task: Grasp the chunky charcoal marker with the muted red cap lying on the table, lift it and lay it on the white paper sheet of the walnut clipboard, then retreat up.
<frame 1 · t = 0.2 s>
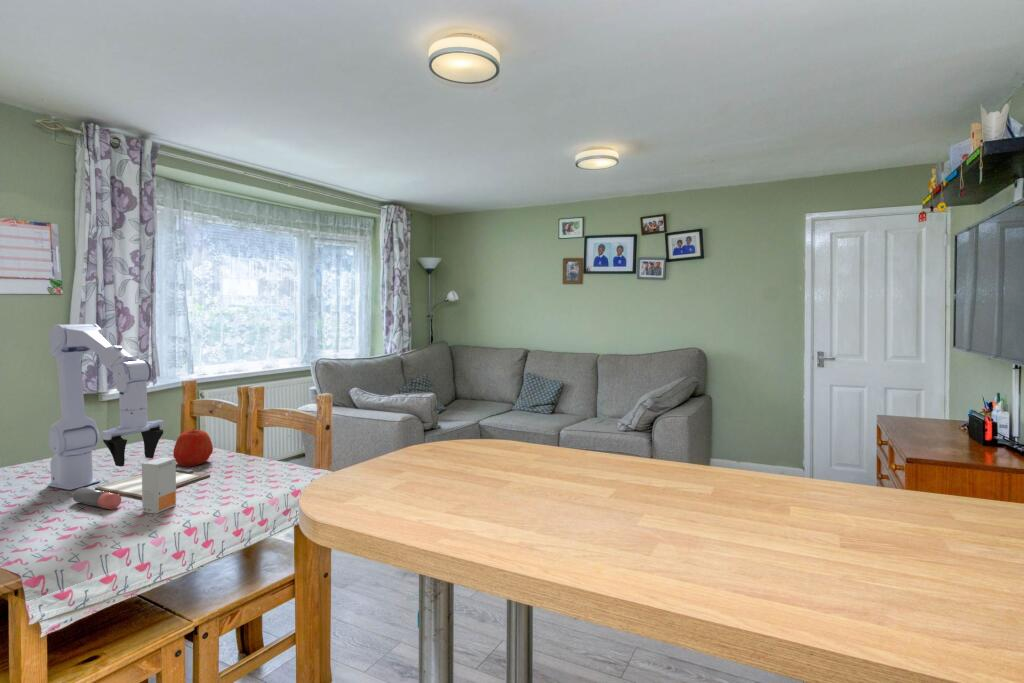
hand: (134, 461, 138), 10 cm above the table, fingers open, 7 cm apart
apple: (193, 463, 172), on the table
marker: (98, 505, 135), on the table, tilted 6°
skincare box: (160, 509, 134), on the table
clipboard: (154, 483, 152), on the table
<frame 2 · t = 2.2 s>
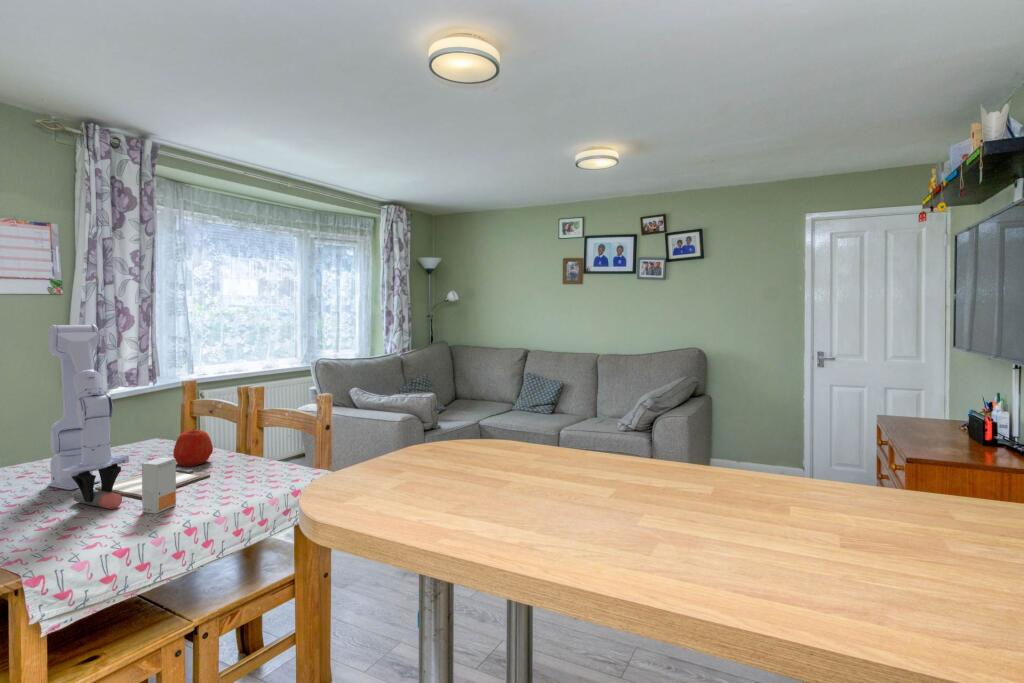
hand: (97, 498, 135), 2 cm above the table, fingers closed on marker, 4 cm apart
marker: (100, 503, 136), on the table, tilted 21°, touching gripper
everything else where it was.
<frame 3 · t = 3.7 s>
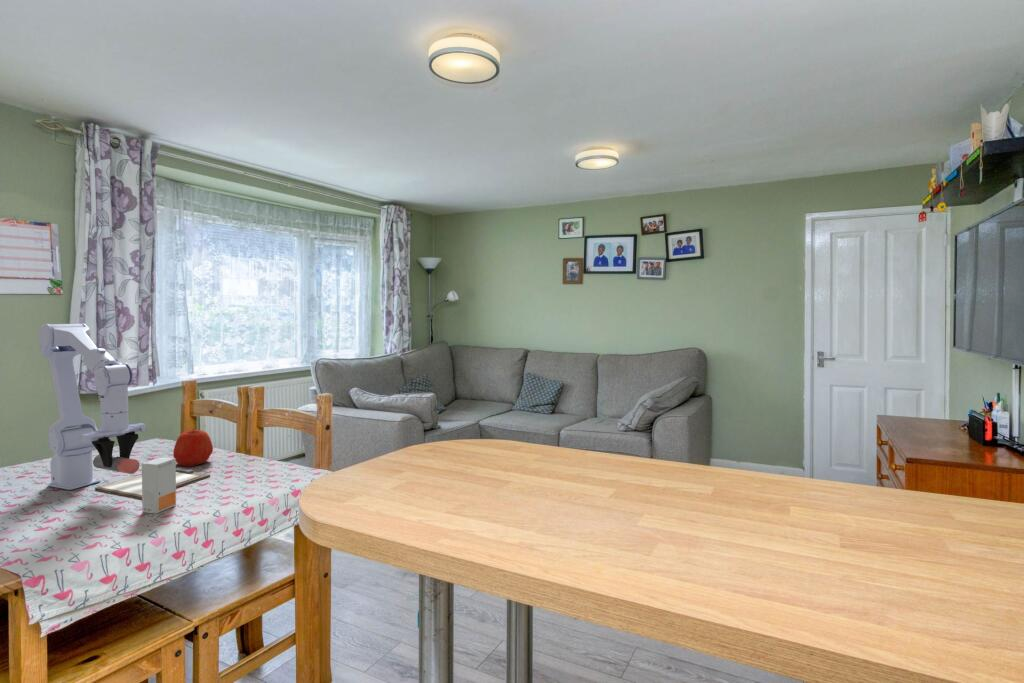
hand: (116, 464, 140), 9 cm above the table, fingers closed on marker, 4 cm apart
marker: (118, 469, 141), point 7 cm above the table, tilted 21°, touching gripper
everything else where it was.
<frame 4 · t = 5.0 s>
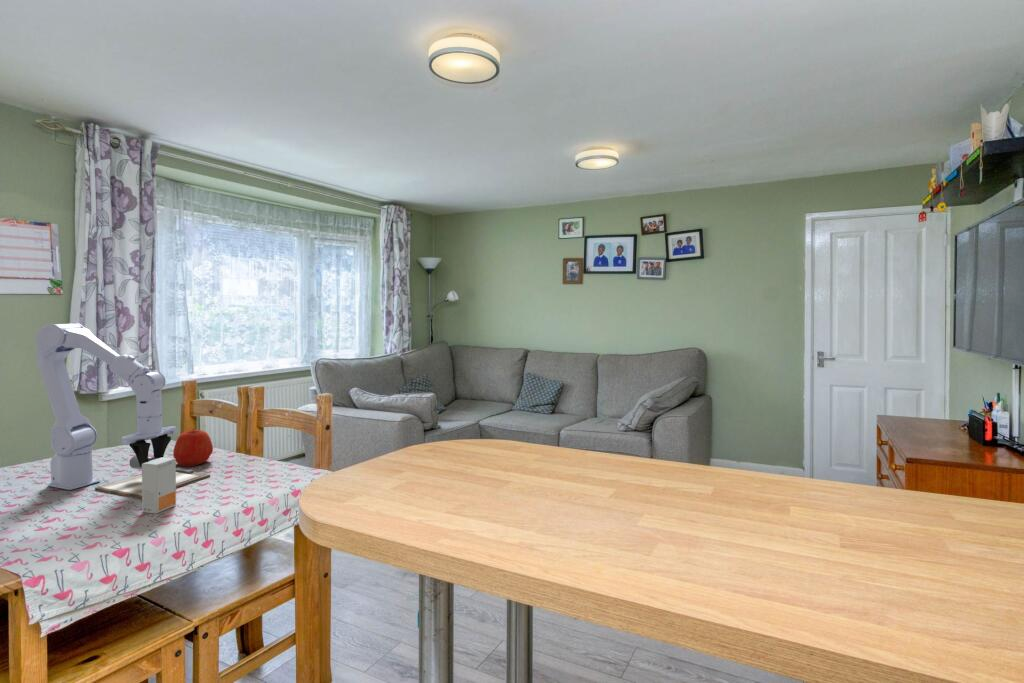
hand: (151, 464, 151), 5 cm above the table, fingers closed on marker, 4 cm apart
marker: (153, 469, 152), point 4 cm above the table, tilted 21°, touching gripper
everything else where it was.
when the fingers open (3 cm above the table, at t = 5.7 s): marker stays where it is, resting on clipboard.
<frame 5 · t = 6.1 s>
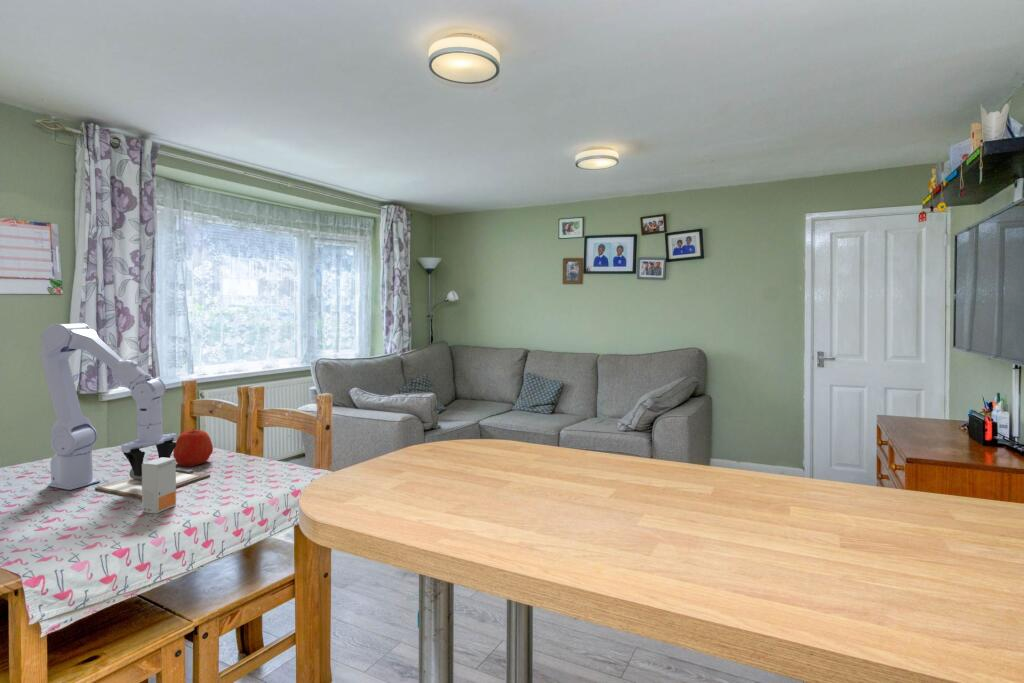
hand: (151, 471, 151), 3 cm above the table, fingers open, 7 cm apart
marker: (153, 480, 152), point 1 cm above the table, tilted 23°, touching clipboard
everything else where it was.
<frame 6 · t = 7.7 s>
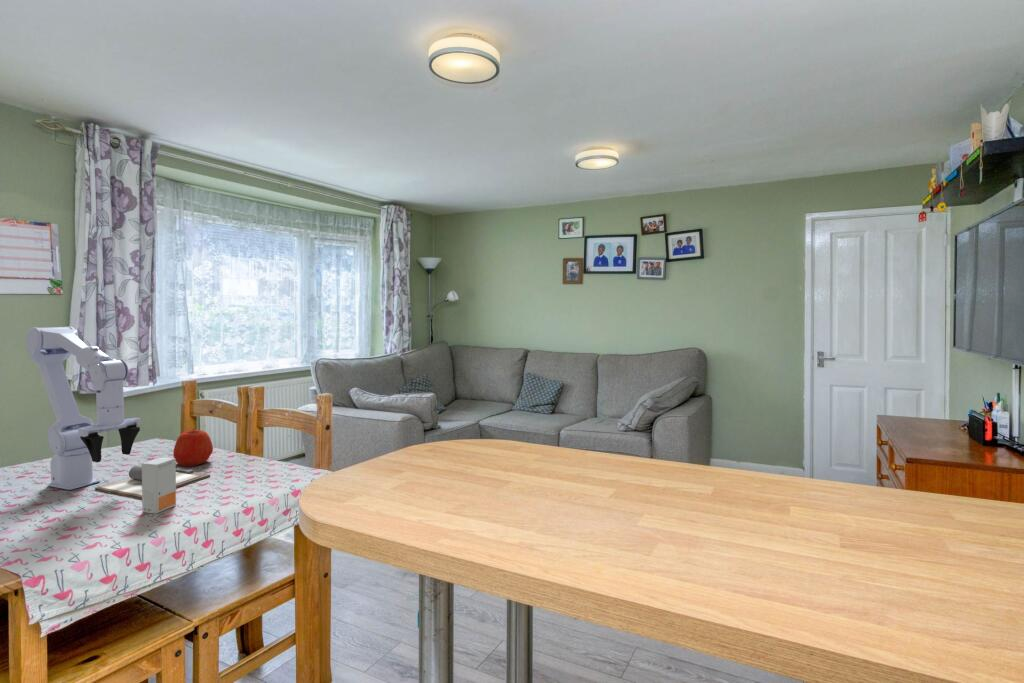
hand: (111, 457, 143), 9 cm above the table, fingers open, 7 cm apart
marker: (153, 479, 152), point 1 cm above the table, tilted 29°, touching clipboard
everything else where it was.
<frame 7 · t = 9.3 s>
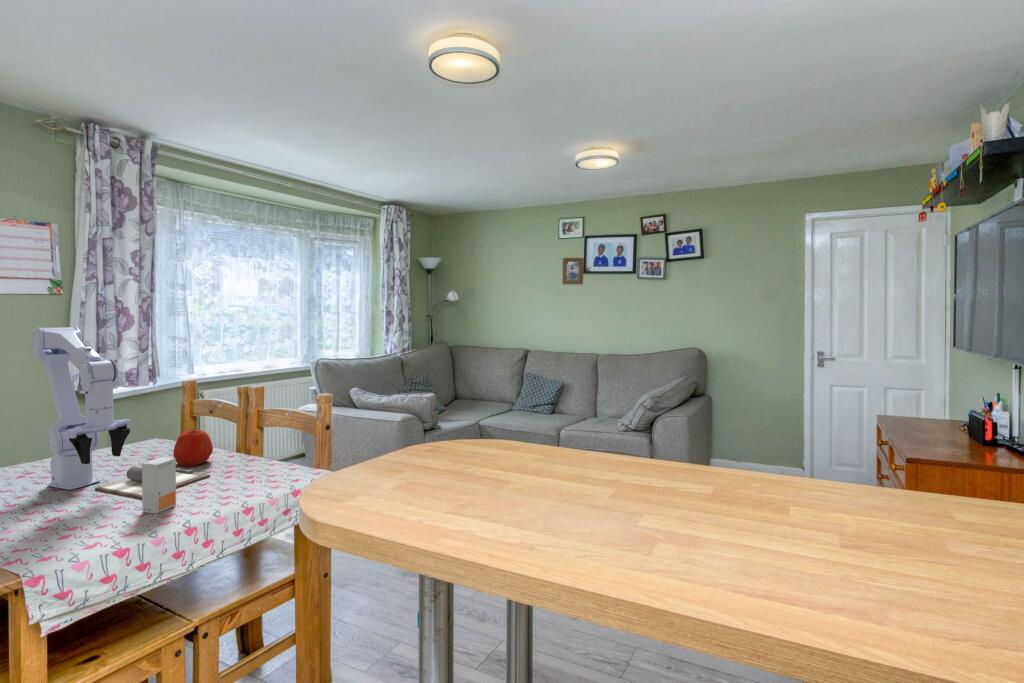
hand: (101, 459, 141), 9 cm above the table, fingers open, 7 cm apart
marker: (153, 478, 152), point 1 cm above the table, tilted 49°, touching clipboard
everything else where it was.
at the end: marker inside the target area on the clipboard (0.5 cm from its centre), point 1.5 cm above the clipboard's base; marker touching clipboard; the gripper is holding nothing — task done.
